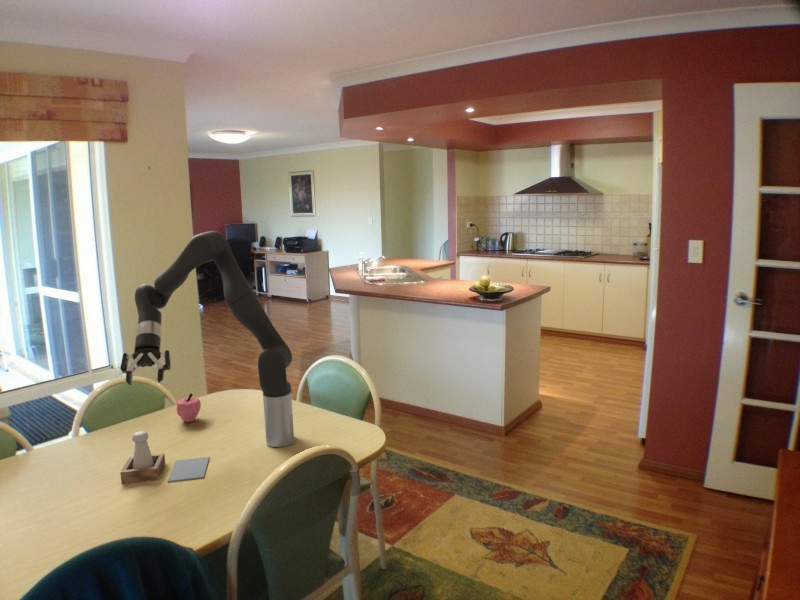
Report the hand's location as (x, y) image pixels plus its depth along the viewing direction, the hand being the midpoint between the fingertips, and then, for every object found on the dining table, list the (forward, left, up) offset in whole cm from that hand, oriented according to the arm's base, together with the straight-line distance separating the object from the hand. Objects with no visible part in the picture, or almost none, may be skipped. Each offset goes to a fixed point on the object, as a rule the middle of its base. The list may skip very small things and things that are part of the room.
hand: (144, 382), depth 170 cm
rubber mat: (-13, +12, -25) cm, 30 cm away
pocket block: (0, +11, -25) cm, 27 cm away
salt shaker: (0, +11, -25) cm, 27 cm away
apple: (-7, -28, -25) cm, 38 cm away
